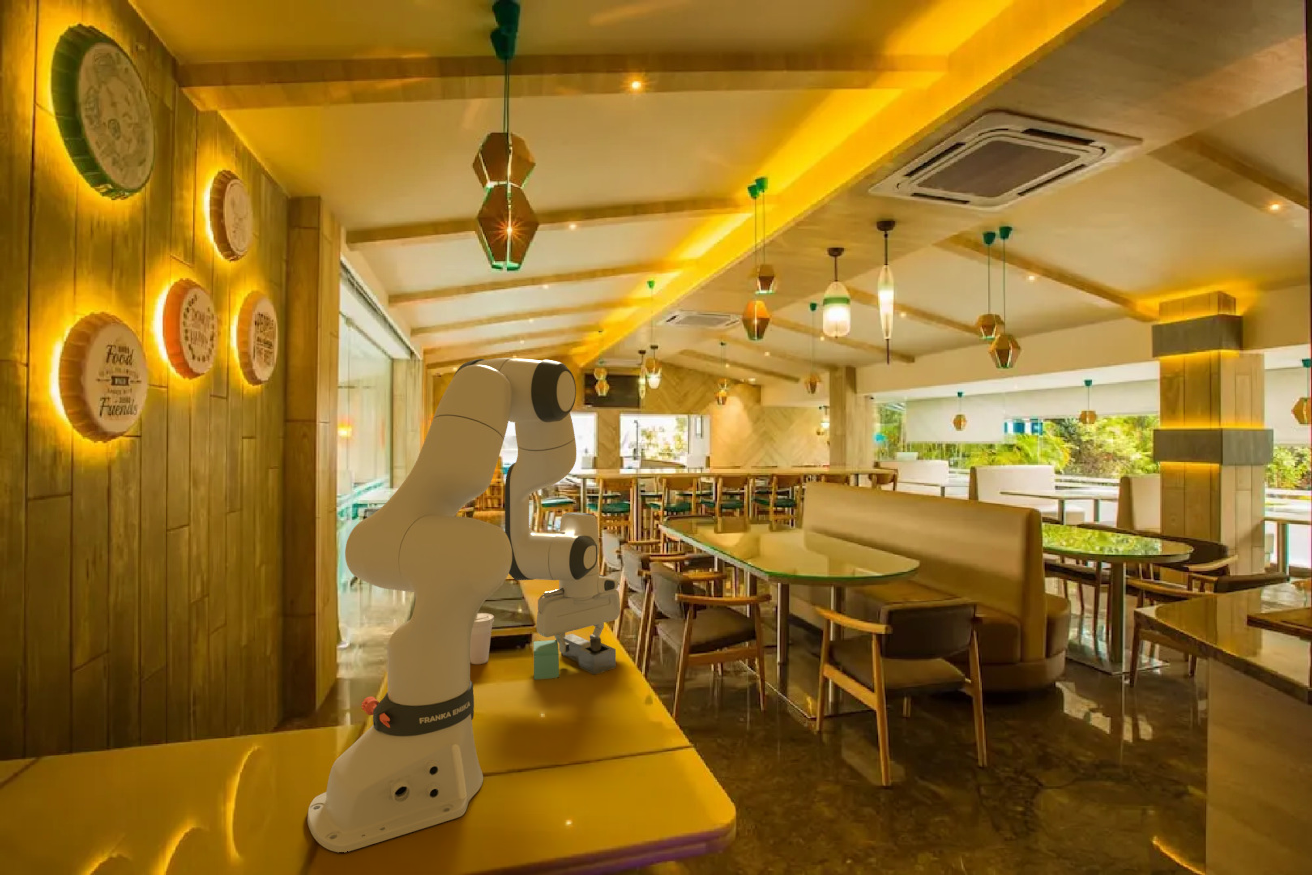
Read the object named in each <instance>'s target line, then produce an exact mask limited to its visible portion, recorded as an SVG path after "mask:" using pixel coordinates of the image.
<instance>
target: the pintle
mask: <svg viewBox="0 0 1312 875" xmlns="http://www.w3.org/2000/svg"><path fill="white" fill-rule="evenodd" d="M601 643H602V638H599V637H594V638H591V652H593V653H598V652H601Z"/></svg>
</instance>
